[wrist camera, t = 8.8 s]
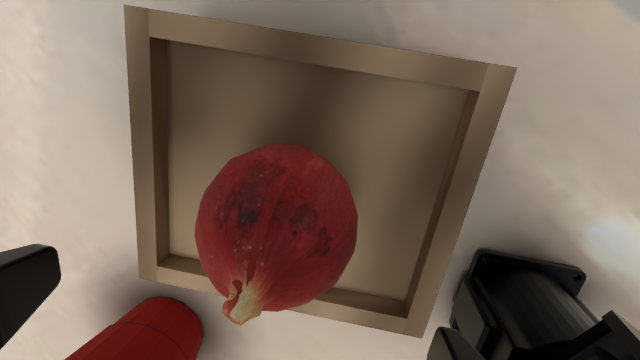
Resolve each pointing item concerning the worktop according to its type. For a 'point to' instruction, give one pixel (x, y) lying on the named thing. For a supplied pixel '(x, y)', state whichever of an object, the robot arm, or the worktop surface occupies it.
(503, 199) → the worktop surface
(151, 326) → the plastic cup
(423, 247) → the shelf
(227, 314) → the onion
